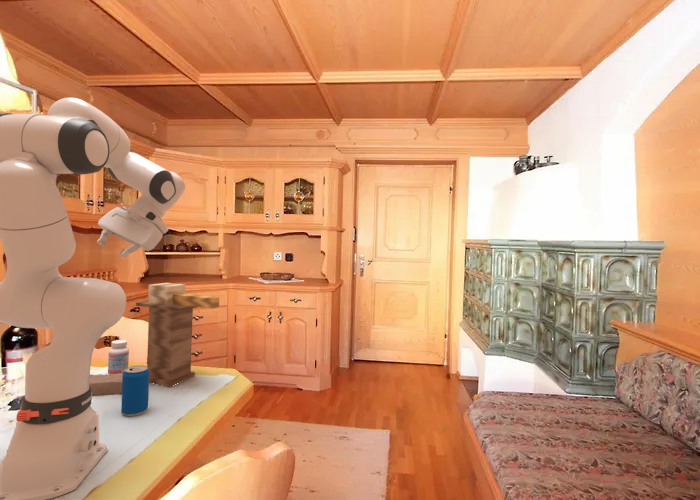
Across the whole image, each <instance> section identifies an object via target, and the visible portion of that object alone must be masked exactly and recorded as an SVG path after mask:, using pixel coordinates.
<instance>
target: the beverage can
mask: <svg viewBox="0 0 700 500" xmlns="http://www.w3.org/2000/svg"><path fill="white" fill-rule="evenodd" d="M149 391H150V383H149V370H148V367H147V365H132V366H128V367H127V368H126V369H125V370H124V373H123V375H122V394H121V406H120V407H121V410H120V412H121V413H122V414H124V415H125V416H128V417H134V416H139V415H142V414H144V413H145V412H146V411H147V410H148V408H149V396H150V393H149Z"/></svg>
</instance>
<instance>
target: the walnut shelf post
mask: <svg viewBox="0 0 700 500" xmlns="http://www.w3.org/2000/svg"><path fill="white" fill-rule="evenodd" d="M135 305H136V306H135V307H142V308H143V307H144V308H148V325H147V326H148V328H147V329H148V331H147V333H148V334H147V358H146V359H147V363H146V364H147V365H146V366H147V367H148V370H149V384H151V383H154V384H153V385H156V384H158V385H157V386H161V385H163V386H162V387H166V386H167V387H166V388H172V386H173V385H175V384H177V383H180V382H182V381H184V382H186V381H188V379H189V380H190V378H191V379H193V378H195V377H196V372H195V371H191V368H192V367H191V366H192V346H193V345H192V344H193V343H192V338H193V316H194V315H193V313H194V312H193V311H194V309H195V308H198V307H194V306H186V305H177V304H170V305H163V304H154V303H148V300H145V301H139V302H135ZM185 380H186V381H185ZM182 383H183V382H182ZM180 384H181V383H180ZM177 385H178V384H177ZM175 386H176V385H175ZM173 387H174V386H173Z"/></svg>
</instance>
